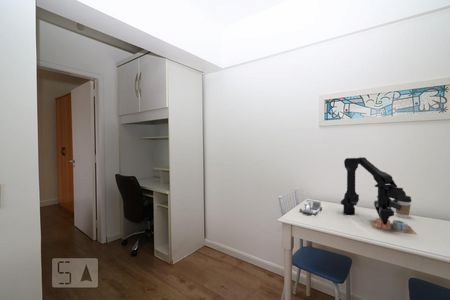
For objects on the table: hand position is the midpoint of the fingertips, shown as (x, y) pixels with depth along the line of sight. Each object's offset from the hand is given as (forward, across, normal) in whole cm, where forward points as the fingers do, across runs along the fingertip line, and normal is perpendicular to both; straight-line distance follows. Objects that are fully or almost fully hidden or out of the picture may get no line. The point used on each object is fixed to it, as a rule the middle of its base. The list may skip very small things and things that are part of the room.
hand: (382, 221), depth 124 cm
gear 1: (+2, 0, 0) cm, 2 cm away
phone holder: (+5, +13, +41) cm, 43 cm away
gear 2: (+2, 0, -8) cm, 8 cm away
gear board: (+4, 0, -4) cm, 6 cm away
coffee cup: (+4, +23, -15) cm, 28 cm away
